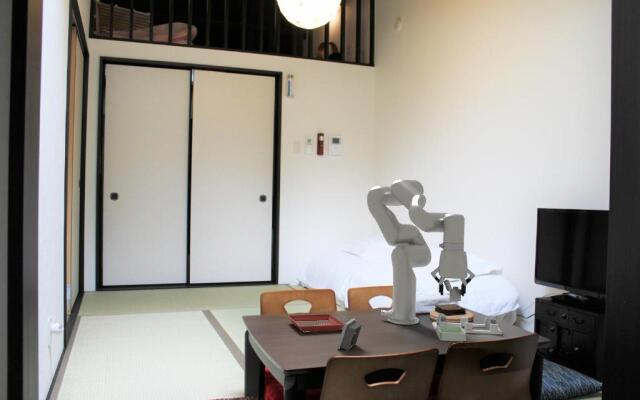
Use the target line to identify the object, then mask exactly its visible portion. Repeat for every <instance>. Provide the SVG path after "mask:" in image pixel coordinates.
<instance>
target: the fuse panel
mask: <svg viewBox="0 0 640 400" xmlns="http://www.w3.org/2000/svg"><path fill="white" fill-rule="evenodd" d="M431 324H432V326H433V329H434V330H435V331H436V325H438V315H436V321H432V323H431ZM440 325H448V326H461V327H462V328H463V327H464V328H463V330H464V331H465V333H466V334H483V335H486V334H487V335H503V331H502V330H501V329H500V328H499V324H498V323H496V324H490V331H488V329H487V328H486V327H487V317H485V318H484V323H479V324H478V323H473V322H469V317H467V316H460V322H448V321H446V322H443V321H440ZM473 328H486V330H484V329H473Z"/></svg>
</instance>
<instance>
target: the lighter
mask: <svg viewBox="0 0 640 400" xmlns="http://www.w3.org/2000/svg"><path fill="white" fill-rule="evenodd" d="M443 285H444V286H445V287H444V288H445V290H446V291H447V292H449V302H461V301H462V295H461V288H459V286H452V285H451V283H450V279H445V280H444V281H443Z"/></svg>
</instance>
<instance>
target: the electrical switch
mask: <svg viewBox="0 0 640 400" xmlns="http://www.w3.org/2000/svg"><path fill="white" fill-rule="evenodd" d="M344 324H345V325H344V326H343V327H342V332H341V335H340V338H339V341H338V345H337V347H336V348H337V350H339V349H340V348H341V349H343V350H346V351H350V349H349V348H350V347H351V346H353V347H354V345H355V346H356V345H357V341H358V338H359V335H360V332H361V329H362V326H363V324H362V323H359V322H357V321H356V318H352V319H350V320H348V321H347V322H346V323H344ZM341 349H340V350H341Z"/></svg>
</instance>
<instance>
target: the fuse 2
mask: <svg viewBox="0 0 640 400" xmlns="http://www.w3.org/2000/svg"><path fill="white" fill-rule="evenodd" d="M486 318H487V327H486V330H488V331H490V324H497V319H496V318H495V317H494V316H493V315H486Z"/></svg>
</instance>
